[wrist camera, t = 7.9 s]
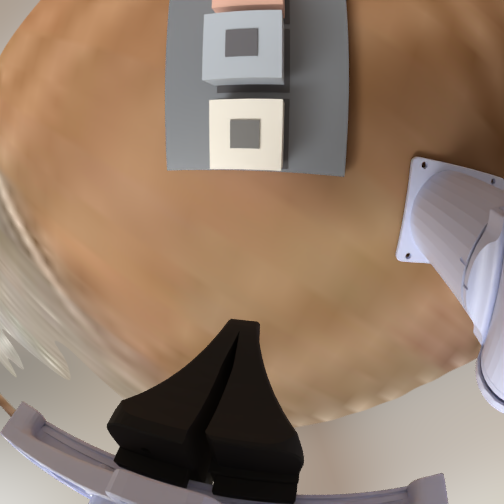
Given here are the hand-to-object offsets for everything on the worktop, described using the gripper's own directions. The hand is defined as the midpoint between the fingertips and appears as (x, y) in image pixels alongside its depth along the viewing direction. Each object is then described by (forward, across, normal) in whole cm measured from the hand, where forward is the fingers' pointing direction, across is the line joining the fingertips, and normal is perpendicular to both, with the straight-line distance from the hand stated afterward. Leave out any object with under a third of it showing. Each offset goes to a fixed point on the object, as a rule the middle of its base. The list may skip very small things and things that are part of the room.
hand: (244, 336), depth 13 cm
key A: (+8, +1, -9) cm, 12 cm away
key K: (+7, +1, -13) cm, 15 cm away
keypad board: (+10, +1, -16) cm, 19 cm away
